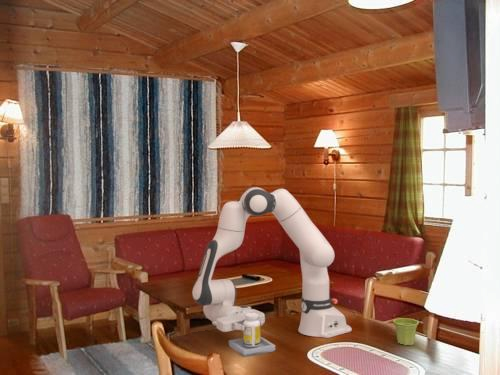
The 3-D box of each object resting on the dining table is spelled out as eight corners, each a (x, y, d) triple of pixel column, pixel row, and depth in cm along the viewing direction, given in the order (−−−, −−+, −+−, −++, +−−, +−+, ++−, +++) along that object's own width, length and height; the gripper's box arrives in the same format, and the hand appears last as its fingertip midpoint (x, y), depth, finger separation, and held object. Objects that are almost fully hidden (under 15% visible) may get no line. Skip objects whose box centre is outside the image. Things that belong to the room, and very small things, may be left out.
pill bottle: (261, 342, 207) (261, 312, 206) (258, 348, 200) (259, 317, 200) (244, 341, 208) (244, 311, 207) (241, 347, 201) (241, 316, 201)
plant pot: (388, 343, 210) (388, 321, 210) (400, 337, 217) (400, 316, 216) (410, 349, 204) (411, 326, 203) (422, 343, 210) (422, 321, 210)
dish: (258, 340, 213) (258, 335, 213) (275, 351, 201) (275, 345, 201) (228, 346, 207) (228, 340, 207) (244, 357, 195) (244, 351, 195)
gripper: (209, 314, 207) (230, 322, 196) (251, 305, 220) (273, 313, 209) (209, 330, 208) (230, 340, 197) (251, 320, 220) (273, 329, 209)
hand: (253, 326), depth 203 cm, fingers closed on pill bottle, 6 cm apart
